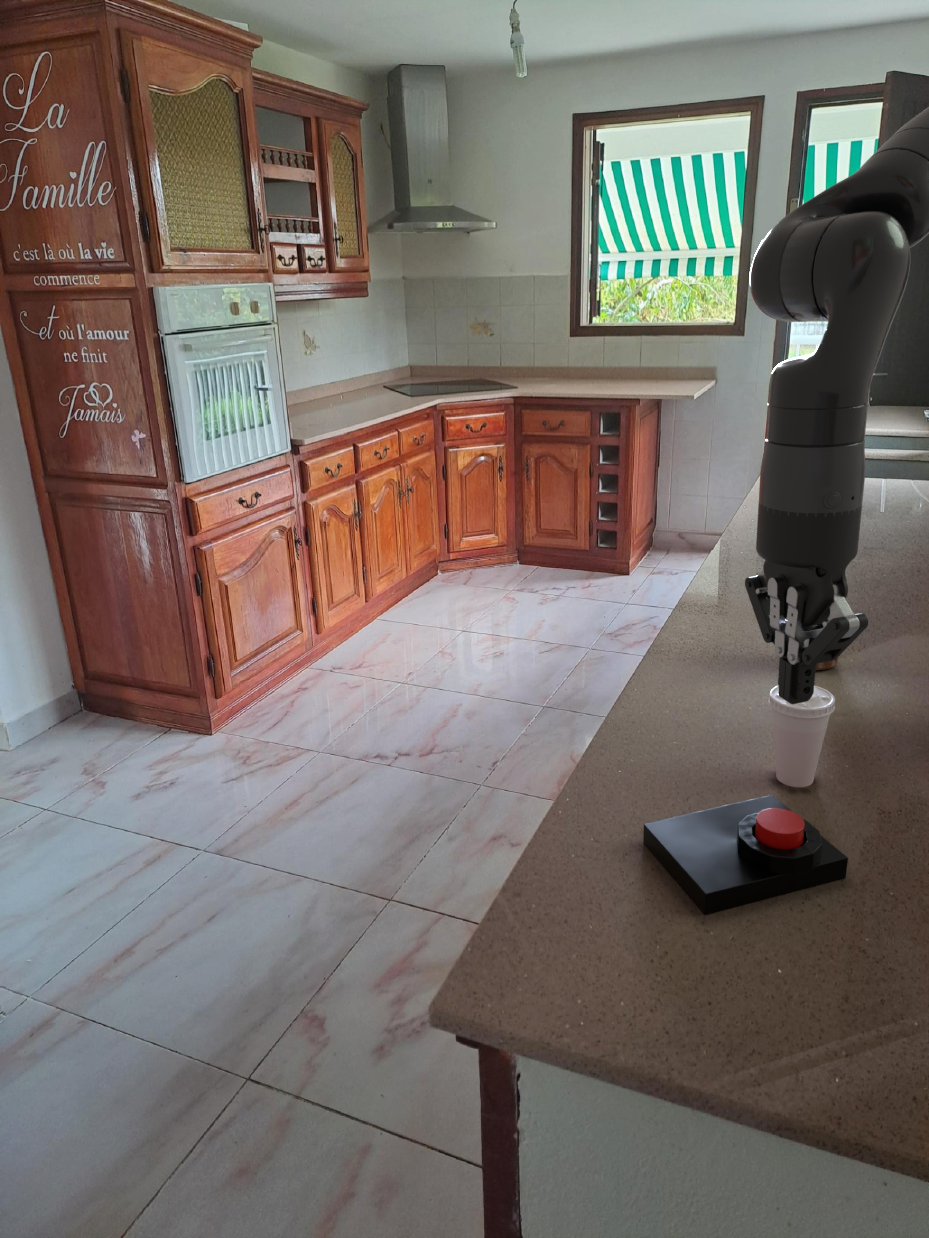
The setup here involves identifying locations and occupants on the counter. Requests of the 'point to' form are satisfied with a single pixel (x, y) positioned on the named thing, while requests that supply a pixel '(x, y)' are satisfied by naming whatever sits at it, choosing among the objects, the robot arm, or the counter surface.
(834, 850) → the push button box
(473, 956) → the counter surface
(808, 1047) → the counter surface
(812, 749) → the smoothie
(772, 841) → the timer button
